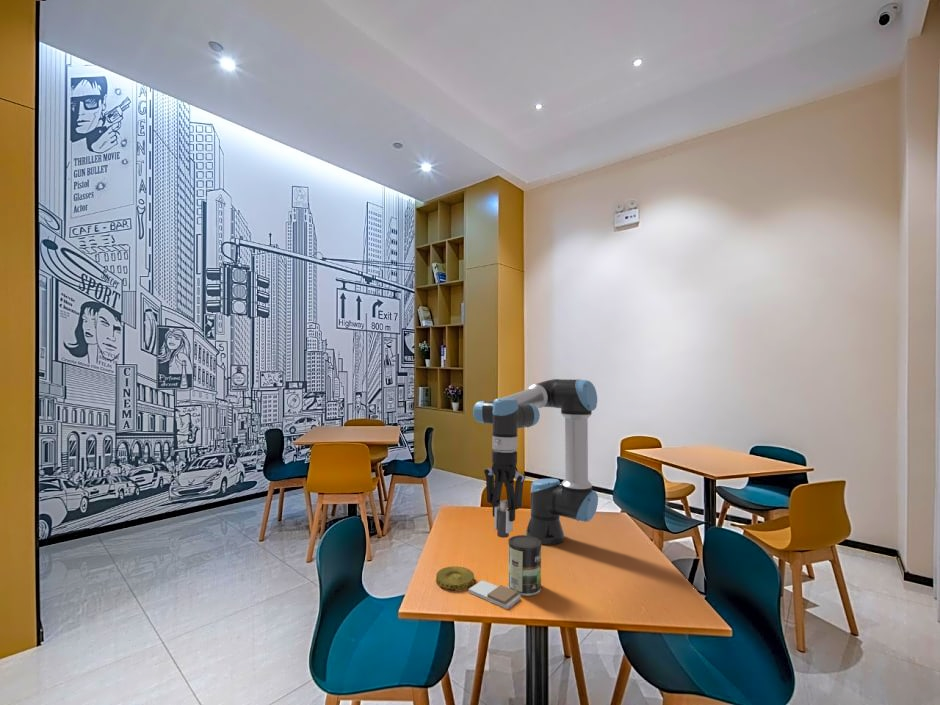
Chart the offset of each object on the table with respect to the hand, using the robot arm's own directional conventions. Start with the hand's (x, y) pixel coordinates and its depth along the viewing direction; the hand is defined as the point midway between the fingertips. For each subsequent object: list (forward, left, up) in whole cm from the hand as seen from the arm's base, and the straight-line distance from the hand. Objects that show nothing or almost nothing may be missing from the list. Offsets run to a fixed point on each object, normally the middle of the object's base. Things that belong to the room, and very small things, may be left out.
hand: (503, 529), depth 122 cm
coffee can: (-10, +1, -20) cm, 23 cm away
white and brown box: (0, -3, -20) cm, 20 cm away
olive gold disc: (+1, -18, -21) cm, 27 cm away
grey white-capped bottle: (0, 0, -2) cm, 2 cm away
